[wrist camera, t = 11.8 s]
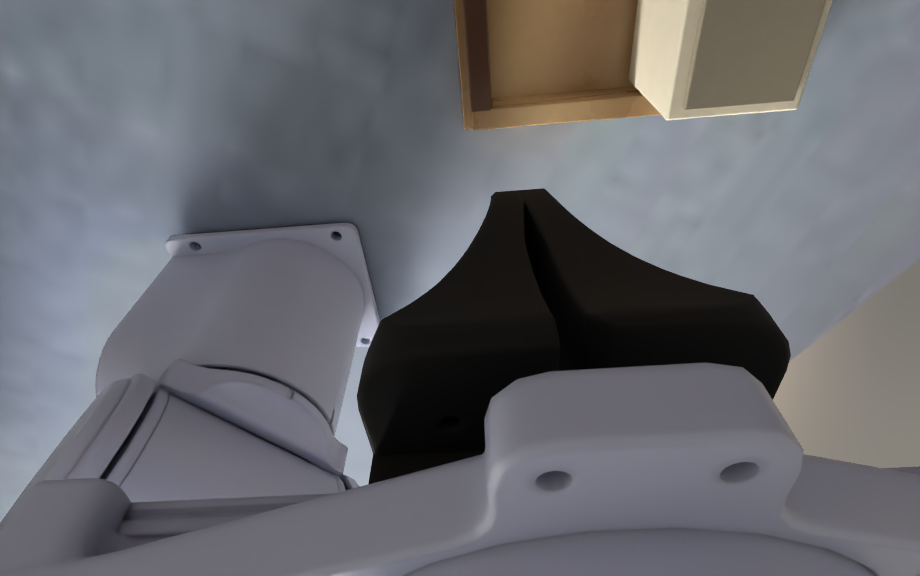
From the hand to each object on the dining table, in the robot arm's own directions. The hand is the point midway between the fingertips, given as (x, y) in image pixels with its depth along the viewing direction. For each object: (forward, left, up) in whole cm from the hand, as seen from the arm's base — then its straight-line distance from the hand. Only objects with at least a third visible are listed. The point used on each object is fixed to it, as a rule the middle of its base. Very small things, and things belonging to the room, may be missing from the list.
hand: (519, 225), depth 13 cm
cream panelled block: (+7, +3, -10) cm, 12 cm away
